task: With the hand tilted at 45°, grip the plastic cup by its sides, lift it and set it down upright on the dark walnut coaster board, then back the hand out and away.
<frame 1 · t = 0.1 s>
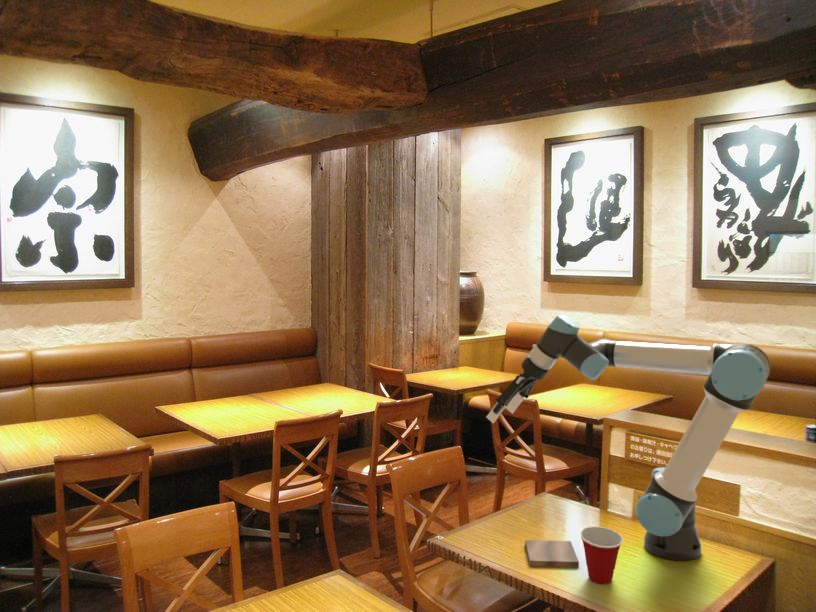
hand: (499, 415, 204), 36 cm above the table, tool tilted 35°, fingers open, 13 cm apart
walnut coaster board: (551, 555, 189), on the table
plastic cup: (600, 580, 175), on the table
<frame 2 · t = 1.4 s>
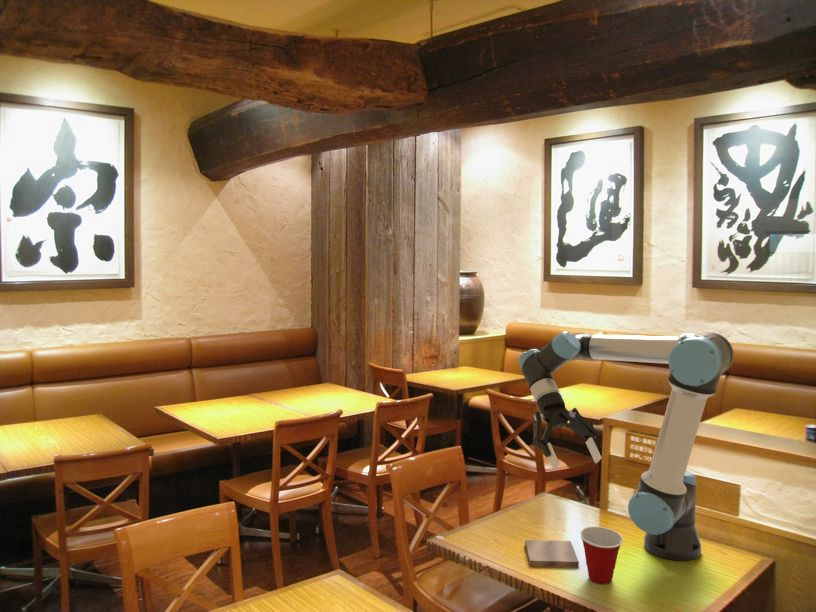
hand: (577, 463, 183), 28 cm above the table, tool tilted 45°, fingers open, 13 cm apart
nothing on the table moved.
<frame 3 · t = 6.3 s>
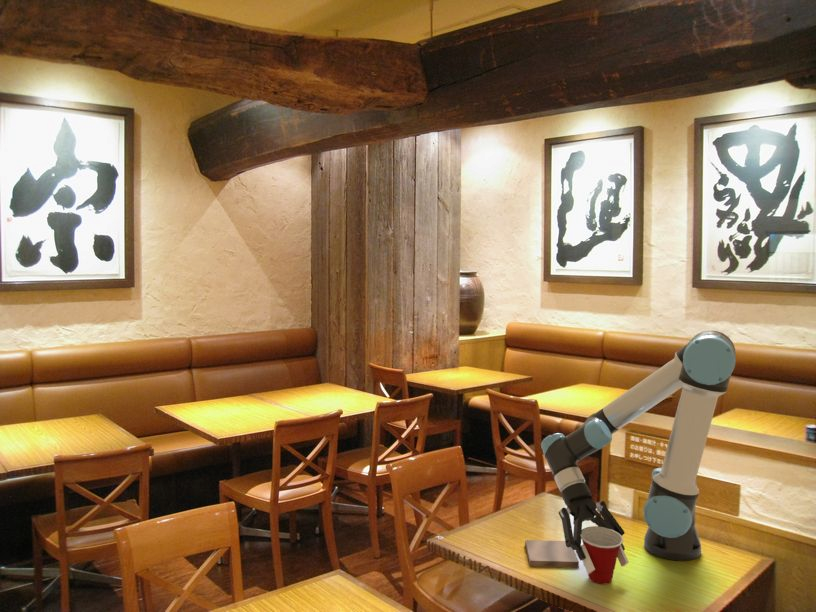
hand: (608, 568, 172), 4 cm above the table, tool tilted 45°, fingers closed on plastic cup, 10 cm apart
plastic cup: (600, 580, 175), on the table, touching gripper
when the fingers open (7 cm above the table, at t = 12.3 s): plastic cup moves 4 cm, point 2 cm above the table.
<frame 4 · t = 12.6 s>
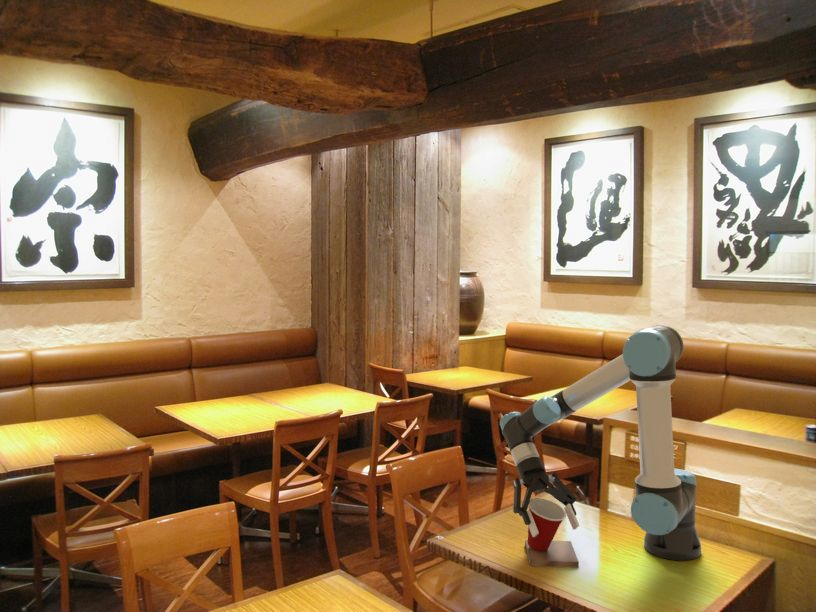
hand: (556, 531, 186), 8 cm above the table, tool tilted 45°, fingers open, 12 cm apart
plastic cup: (537, 547, 190), point 2 cm above the table, touching gripper
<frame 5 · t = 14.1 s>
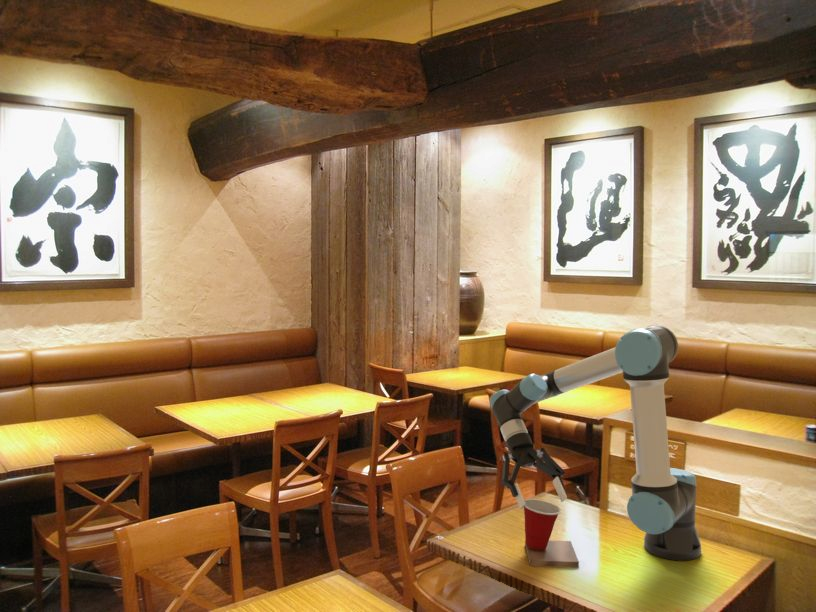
hand: (543, 503, 191), 14 cm above the table, tool tilted 45°, fingers open, 13 cm apart
plastic cup: (536, 547, 190), point 2 cm above the table, touching walnut coaster board
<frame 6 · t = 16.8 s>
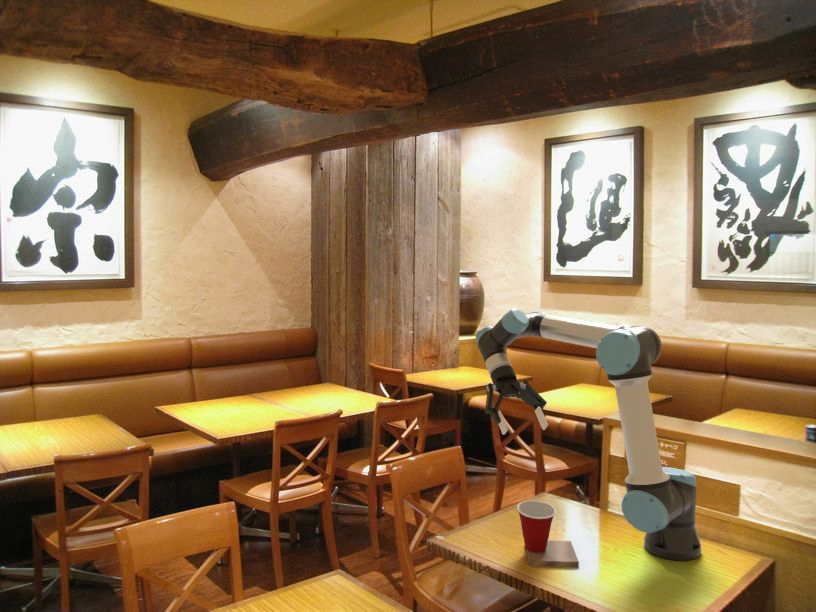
hand: (525, 429, 198), 33 cm above the table, tool tilted 45°, fingers open, 13 cm apart
at the end: plastic cup inside the target area on the walnut coaster board (4.1 cm from its centre), point 1.3 cm above the walnut coaster board's base; plastic cup tilted 0°; the gripper is holding nothing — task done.
